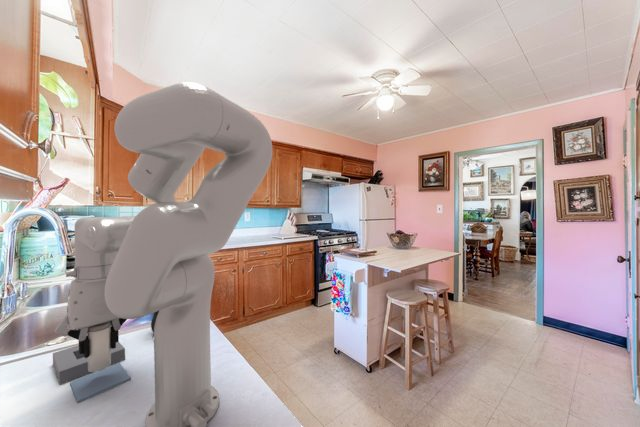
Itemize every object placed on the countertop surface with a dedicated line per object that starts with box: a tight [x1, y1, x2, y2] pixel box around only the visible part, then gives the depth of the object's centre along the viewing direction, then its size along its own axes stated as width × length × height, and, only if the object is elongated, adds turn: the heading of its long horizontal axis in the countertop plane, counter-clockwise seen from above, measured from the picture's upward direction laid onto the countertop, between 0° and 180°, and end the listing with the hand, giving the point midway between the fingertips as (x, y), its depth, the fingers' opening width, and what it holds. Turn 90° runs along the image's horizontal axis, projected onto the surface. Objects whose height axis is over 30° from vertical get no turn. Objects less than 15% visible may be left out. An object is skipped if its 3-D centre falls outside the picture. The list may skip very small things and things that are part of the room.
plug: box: [87, 321, 111, 373], centre depth 58 cm, size 4×4×10 cm
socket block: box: [52, 341, 126, 386], centre depth 65 cm, size 12×12×3 cm
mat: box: [69, 362, 132, 404], centre depth 58 cm, size 9×9×1 cm
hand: (99, 350), depth 58 cm, fingers closed on plug, 4 cm apart
